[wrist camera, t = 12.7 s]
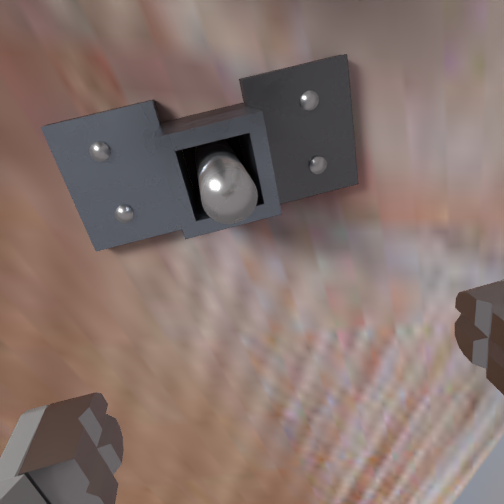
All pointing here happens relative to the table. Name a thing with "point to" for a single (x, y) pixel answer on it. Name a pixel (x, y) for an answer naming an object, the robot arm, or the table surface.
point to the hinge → (201, 132)
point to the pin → (224, 183)
